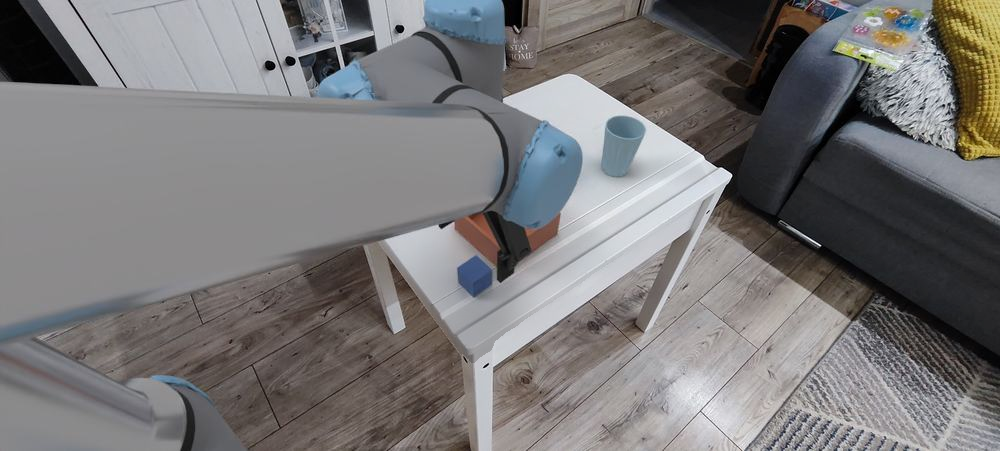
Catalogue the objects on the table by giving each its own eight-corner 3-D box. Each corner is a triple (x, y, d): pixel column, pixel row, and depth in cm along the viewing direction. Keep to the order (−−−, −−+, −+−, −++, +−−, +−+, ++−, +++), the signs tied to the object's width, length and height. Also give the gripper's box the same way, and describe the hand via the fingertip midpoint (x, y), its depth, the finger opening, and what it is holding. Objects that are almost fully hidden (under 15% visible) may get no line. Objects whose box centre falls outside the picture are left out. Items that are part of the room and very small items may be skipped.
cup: (641, 171, 94) (654, 130, 87) (614, 185, 91) (625, 143, 84) (615, 152, 99) (626, 111, 91) (588, 165, 96) (597, 123, 88)
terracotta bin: (503, 273, 76) (504, 252, 72) (454, 228, 83) (452, 207, 79) (557, 234, 82) (561, 213, 78) (507, 195, 89) (508, 174, 85)
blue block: (473, 297, 73) (473, 283, 70) (457, 282, 75) (456, 267, 72) (492, 284, 75) (492, 269, 72) (476, 269, 77) (476, 254, 74)
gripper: (572, 173, 48) (552, 286, 64) (431, 78, 60) (443, 193, 76) (522, 207, 45) (513, 318, 61) (383, 99, 57) (406, 215, 73)
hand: (474, 249), depth 69 cm, fingers open, 13 cm apart
